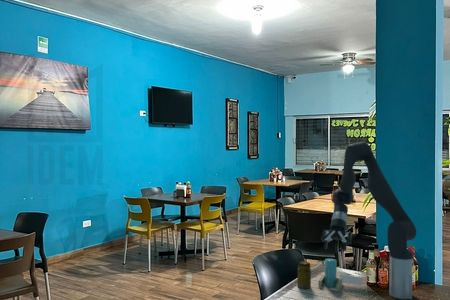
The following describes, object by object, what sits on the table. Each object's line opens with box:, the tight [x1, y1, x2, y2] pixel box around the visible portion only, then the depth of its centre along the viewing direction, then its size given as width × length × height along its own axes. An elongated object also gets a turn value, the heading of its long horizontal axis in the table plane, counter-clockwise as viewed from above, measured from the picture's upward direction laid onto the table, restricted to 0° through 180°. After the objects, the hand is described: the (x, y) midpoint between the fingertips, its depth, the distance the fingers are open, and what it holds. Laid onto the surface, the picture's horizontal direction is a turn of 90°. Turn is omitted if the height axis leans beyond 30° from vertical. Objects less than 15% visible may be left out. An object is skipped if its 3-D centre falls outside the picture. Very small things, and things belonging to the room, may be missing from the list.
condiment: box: [297, 260, 312, 290], centre depth 185 cm, size 7×8×12 cm
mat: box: [338, 274, 364, 286], centre depth 196 cm, size 11×11×1 cm
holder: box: [317, 274, 344, 292], centre depth 187 cm, size 10×10×4 cm
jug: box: [324, 258, 338, 288], centre depth 186 cm, size 5×7×12 cm
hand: (334, 249), depth 196 cm, fingers open, 8 cm apart
